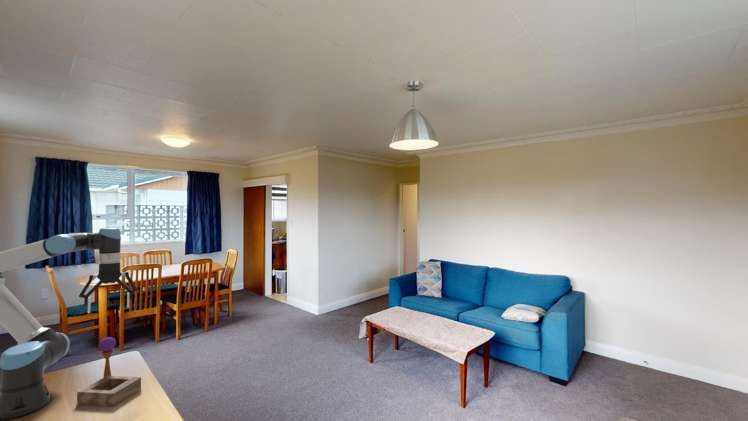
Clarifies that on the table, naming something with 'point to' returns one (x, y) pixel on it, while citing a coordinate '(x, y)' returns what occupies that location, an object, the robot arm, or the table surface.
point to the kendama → (107, 352)
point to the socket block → (103, 397)
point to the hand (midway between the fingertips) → (109, 309)
